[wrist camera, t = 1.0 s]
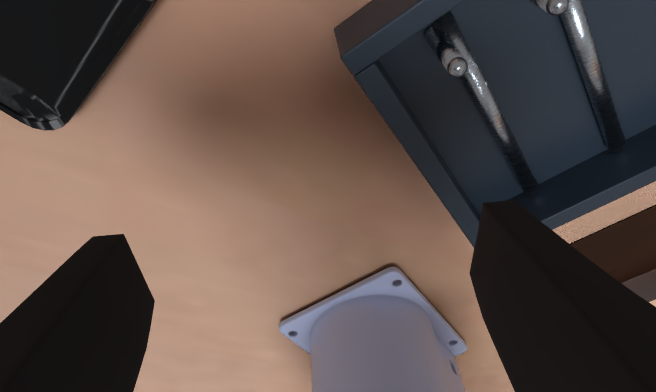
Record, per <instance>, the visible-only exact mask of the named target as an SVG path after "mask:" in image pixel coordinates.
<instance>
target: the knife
mask: <svg viewBox="0 0 656 392" xmlns="http://www.w3.org/2000/svg"><path fill="white" fill-rule="evenodd" d="M571 246H572V247H574V248H575V249H576V250H578V251H579V252H580V253H582V254H583V255H584V256H585V257H587V258H588V259H589V260H591V261H592V262H593V263H595V264H596V265H597V266H599V267H600V268H601V269H603V270H604V271H605V272H607V273H608V274H609V275H611V276H612V277H613V278H615V279H616V280H618V281H619V282H620V283H622V284H623V285H624V286H626V287H627V288H629V289H630V290H631V291H633V292H634V293H636V294H637V295H639V296H640V297H642V298H643V299H644V300H646V301H647V302H650V301H653V300H655V299H656V206H654V207H652V208H650V209H647V210H645V211H643V212H641V213H639V214H636V215H634V216H632V217H630V218H628V219H625V220H623V221H621V222H619V223H617V224H614V225H612V226H610V227H608V228H606V229H603V230H601V231H599V232H597V233H595V234H592V235H590V236H588V237H586V238H584V239H581V240H579V241H577V242H575V243H573V244H571Z"/></svg>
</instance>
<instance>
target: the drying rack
mask: <svg viewBox="0 0 656 392" xmlns="http://www.w3.org/2000/svg"><path fill="white" fill-rule="evenodd" d="M334 32H335V36H336V39H337V44H338V48H339V53H340V57H341V59H342V61H343V62H344V64H345V65H346V67H347V68H348V69H349V71H350V72H351V74H353V75H354V78H355V79H356V81H357V82H358V84H359V85H360V86H361V88H362V89H363V91H364V92H365V94H366V95H367V96H368V98H369V99H370V101H371V102H372V104H373V105H374V106H375V108H376V109H377V111H378V112H379V113H380V115H381V116H382V118H383V119H384V121H385V122H386V123H387V125H388V126H389V128H390V129H391V131H392V132H393V133H394V135H395V136H396V138H397V139H398V140H399V142H400V143H401V145H402V146H403V148H404V149H405V150H406V152H407V153H408V155H409V156H410V158H411V159H412V160H413V162H414V163H415V165H416V166H417V167H418V169H419V170H420V172H421V173H422V175H423V176H424V177H425V179H426V180H427V182H428V183H429V184H430V186H431V187H432V189H433V190H434V192H435V193H436V194H437V196H438V197H439V199H440V200H441V202H442V203H443V204H444V206H445V207H446V209H447V210H448V211H449V213H450V214H451V216H452V217H453V219H454V220H455V221H456V223H457V224H458V226H459V227H460V229H461V230H462V231H463V233H464V234H465V236H466V237H467V238H468V240H469V241H470V243H471V244H472V246H473V247H474V248H475V243H476V238H477V232H478V227H479V222H480V217H481V211H482V206H483V203H488V202H500V201H511V200H514V201H515V202H516V203H518V204H519V205H520V206H522V207H523V208H524V209H526V210H527V211H528V212H530V213H531V214H532V215H533V216H535V217H536V218H537V219H538V220H540V221H541V222H542V223H543V224H545V225H546V226H547V227H548V228H550V229H551V230H553V229H555V228H557V227H559V226H561V225H563V224H565V223H567V222H570V221H572V220H574V219H576V218H578V217H580V216H582V215H584V214H586V213H589V212H591V211H593V210H595V209H597V208H599V207H601V206H603V205H606V204H608V203H610V202H612V201H614V200H616V199H618V198H620V197H623V196H625V195H627V194H629V193H631V192H633V191H635V190H637V189H640V188H642V187H644V186H646V185H648V184H650V183H652V182H654V181H656V0H373V1H371V2H370V3H369V4H367V5H366V6H365V7H363V8H362V9H360V10H359V11H358V12H356V13H355V14H354V15H352V16H351V17H349V18H348V19H347V20H345V21H344V22H343V23H341V24H340V25H338V26H337V27H336V28H334Z"/></svg>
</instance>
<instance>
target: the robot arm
mask: <svg viewBox="0 0 656 392" xmlns="http://www.w3.org/2000/svg"><path fill="white" fill-rule="evenodd" d="M470 276H471V280H472V283H473V287H474V290H475V294H476V297H477V300H478V304H479V307H480V310H481V313H482V317H483V319H484V322H485V324H486V326H487V329H488V331H489V333H490V336H491V338H492V340H493V343H494V345H495V347H496V350H497V352H498V354H499V357H500V359H501V361H502V363H503V366H504V368H505V370H506V372H507V375H508V377H509V379H510V381H511V384H512V386H513V388H514V391H515V392H656V307H655V306H653V305H652V304H650V303H649V302H647V301H646V300H644V299H643V298H642V297H640V296H639V295H637V294H636V293H634V292H633V291H631V290H630V289H629V288H627V287H626V286H624V285H623V284H622V283H620V282H619V281H618V280H616V279H615V278H613V277H612V276H611V275H609V274H608V273H607V272H605V271H604V270H603V269H601V268H600V267H599V266H597V265H596V264H595V263H593V262H592V261H591V260H589V259H588V258H587V257H585V256H584V255H583V254H582V253H580V252H579V251H578V250H576V249H575V248H574V247H572V246H571V245H570V244H569V243H567V242H566V241H565V240H564V239H562V238H561V237H560V236H559V235H557V234H556V233H555V232H553V231H552V230H551V229H550V228H548V227H547V226H546V225H545V224H543V223H542V222H541V221H540V220H538V219H537V218H536V217H535V216H533V215H532V214H531V213H530V212H528V211H527V210H526V209H524V208H523V207H522V206H520V205H519V204H518V203H516V202H515V201H514V200H511V201H500V202H488V203H483V206H482V211H481V217H480V222H479V227H478V232H477V238H476V243H475V248H474V253H473V259H472V264H471V269H470ZM395 280H397V281H395ZM153 308H154V298H153V296H152V294H151V292H150V290H149V288H148V286H147V283H146V281H145V279H144V277H143V275H142V273H141V270H140V268H139V266H138V264H137V262H136V260H135V257H134V255H133V253H132V251H131V249H130V247H129V245H128V242H127V240H126V238H125V236H124V234H118V235H106V236H95V237H92V238H91V239H90V240H89V241H88V242H86V243H85V244H84V245H83V246H82V247H81V248H80V249H79V250H77V251H76V252H75V253H74V254H73V255H72V256H71V257H70V258H69V259H68V260H67V261H66V262H65V263H64V264H63V265H61V266H60V267H59V268H58V269H57V270H56V271H55V272H54V273H53V274H52V275H51V276H50V277H49V278H48V279H47V280H46V281H45V282H44V283H43V284H42V285H41V286H40V287H38V288H37V289H36V290H35V291H34V292H33V293H32V294H31V295H30V296H29V297H28V298H27V299H26V300H25V301H24V302H22V303H21V304H20V305H19V306H18V307H17V308H16V309H15V310H14V311H13V312H12V313H11V314H10V315H9V316H8V317H7V318H5V319H4V320H3V321H2V322H1V323H0V392H133V391H134V387H135V384H136V381H137V378H138V374H139V371H140V368H141V365H142V361H143V358H144V355H145V351H146V348H147V343H148V337H149V332H150V327H151V320H152V314H153ZM279 331H280V332H281V333H282V334H283V335H285V336H286V337H288V338H289V339H290V340H292V341H293V342H294V343H296V344H297V345H298V346H300V347H301V348H302V349H304V350H305V351H306V352H308V353H309V354H310V355H311V380H312V392H465V389H464V386H463V383H462V380H461V376H460V373H459V370H458V367H457V364H456V361H455V356H457V355H459V354H462V353H464V352H465V351H466V350H467V346H466V343H465V341H464V340H463V339H462V338H461V337H460V336H459V335H458V334H457V333H456V331H455V330H454V329H453V328H452V327H451V326H450V325H449V324H448V322H447V321H446V320H445V319H444V318H443V317H442V316H441V315H440V314H439V312H438V311H437V310H436V309H435V308H434V307H433V306H432V305H431V304H430V302H429V301H428V300H427V299H426V298H425V297H424V296H423V295H422V294H421V292H420V291H419V290H418V289H417V288H416V287H415V286H414V285H413V284H412V282H411V281H410V280H409V279H408V278H407V277H406V276H405V275H404V274H403V272H402V271H401V270H400V269H399V268H397V267H389V268H386V269H384V270H382V271H380V272H378V273H376V274H374V275H372V276H370V277H368V278H366V279H364V280H362V281H360V282H358V283H356V284H354V285H352V286H350V287H348V288H346V289H344V290H342V291H340V292H338V293H336V294H334V295H332V296H330V297H328V298H326V299H324V300H322V301H320V302H318V303H316V304H315V305H313V306H311V307H309V308H307V309H305V310H303V311H301V312H299V313H297V314H295V315H293V316H291V317H289V318H287V319H285V320H283V321H281V322H280V324H279Z"/></svg>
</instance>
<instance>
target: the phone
mask: <svg viewBox="0 0 656 392" xmlns="http://www.w3.org/2000/svg"><path fill="white" fill-rule="evenodd" d="M156 1H157V0H0V110H1V111H3V112H5V113H6V114H8V115H10V116H12V117H13V118H15V119H17V120H18V121H20V122H22V123H24V124H26V125H28V126H30V127H32V128H36V129H41V130H55V129H58V128H61V127H63V126H64V125H65V124H66V123H68V122H69V121H70V119H71V118H72V117H73V116H74V115H75V113H76V112H77V111H78V110H79V108H80V107H81V106H82V104H83V103H84V102H85V100H86V99H87V97H88V96H89V95H90V93H91V92H92V90H93V89H94V88H95V86H96V85H97V83H98V82H99V81H100V79H101V78H102V76H103V75H104V74H105V72H106V71H107V69H108V68H109V67H110V65H111V64H112V63H113V61H114V60H115V58H116V57H117V56H118V54H119V53H120V51H121V50H122V49H123V47H124V46H125V44H126V43H127V42H128V40H129V39H130V37H131V36H132V35H133V33H134V32H135V30H136V29H137V28H138V26H139V25H140V24H141V22H142V21H143V19H144V18H145V17H146V15H147V14H148V12H149V11H150V10H151V8H152V7H153V5H154V4H155V3H156Z"/></svg>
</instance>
